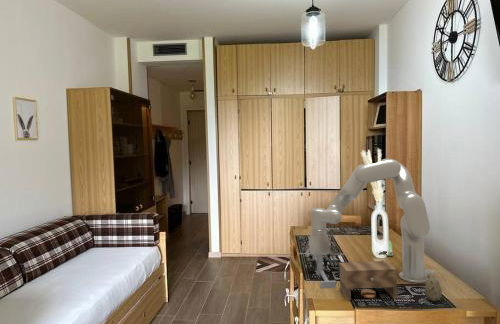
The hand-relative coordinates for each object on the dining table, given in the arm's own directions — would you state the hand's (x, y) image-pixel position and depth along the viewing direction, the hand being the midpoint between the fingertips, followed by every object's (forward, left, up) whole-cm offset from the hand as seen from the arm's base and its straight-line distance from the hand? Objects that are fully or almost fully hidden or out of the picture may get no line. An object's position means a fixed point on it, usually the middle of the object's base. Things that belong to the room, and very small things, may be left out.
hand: (319, 266), depth 162 cm
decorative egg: (-39, +33, -4) cm, 51 cm away
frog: (-45, -25, -4) cm, 52 cm away
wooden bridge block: (-15, +25, -3) cm, 29 cm away
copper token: (-15, +26, -4) cm, 30 cm away
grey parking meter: (0, +8, -3) cm, 8 cm away
